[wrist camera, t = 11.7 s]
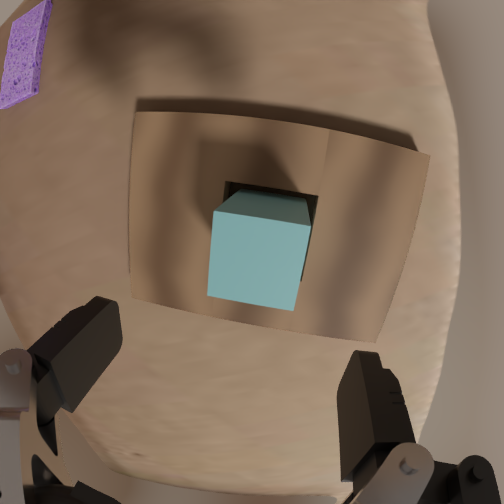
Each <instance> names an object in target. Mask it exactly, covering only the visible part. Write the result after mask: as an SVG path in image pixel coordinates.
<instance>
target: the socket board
mask: <svg viewBox="0 0 504 504" xmlns="http://www.w3.org/2000/svg"><path fill="white" fill-rule="evenodd" d="M429 160H430V155H427V154H424V153H421V152H417V151H414V150H411V149H408V148H404V147H401V146H397V145H394V144H390V143H386V142H383V141H379V140H375V139H371V138H367V137H363V136H358V135H354V134H350V133H345V132H341V131H336V130H331V129H326V128H321V127H315V126H310V125H304V124H298V123H291V122H285V121H278V120H270V119H263V118H254V117H245V116H235V115H223V114H209V113H190V112H135V120H134V130H133V141H132V154H131V170H130V193H129V253H130V277H131V293H132V298H135V299H139V300H143V301H147V302H151V303H155V304H159V305H163V306H167V307H171V308H175V309H180V310H184V311H188V312H193V313H197V314H202V315H206V316H211V317H216V318H221V319H225V320H230V321H235V322H241V323H246V324H251V325H256V326H262V327H267V328H273V329H279V330H285V331H291V332H297V333H304V334H310V335H317V336H324V337H331V338H339V339H346V340H354V341H363V342H372V343H376V340H377V338H378V335H379V333H380V331H381V328H382V326H383V323H384V321H385V318H386V315H387V313H388V310H389V308H390V305H391V302H392V299H393V297H394V294H395V291H396V288H397V285H398V282H399V279H400V276H401V273H402V270H403V267H404V264H405V261H406V257H407V254H408V251H409V247H410V244H411V240H412V237H413V233H414V229H415V225H416V221H417V217H418V213H419V209H420V205H421V201H422V196H423V192H424V187H425V182H426V177H427V171H428V166H429ZM230 182H237V183H244V184H251V185H258V186H264V187H271V188H277V189H283V190H289V191H295V192H301V193H306V194H312V195H316V199H315V204H314V210H313V215H312V220H311V229H310V234H309V240H308V245H307V250H306V255H305V260H304V265H303V269H302V274H301V279H300V284H299V288H298V293H297V297H296V302H295V306H294V311H290V310H283V309H277V308H272V307H266V306H260V305H254V304H249V303H243V302H238V301H233V300H227V299H222V298H217V297H212V296H207V291H208V275H209V261H210V248H211V236H212V224H213V213H214V210H215V209H216V208H218V207H219V206H220V205H221V204H222V203H224V202H225V201H226V200H227V199H229V190H230Z"/></svg>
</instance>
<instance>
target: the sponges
mask: <svg viewBox="0 0 504 504" xmlns="http://www.w3.org/2000/svg"><path fill="white" fill-rule="evenodd" d="M52 5H53V4H52V3H51V0H44V1H42V2H41V3H40V4H38V5H37V6H35V7H34V8H32V9H31V11H29V12H27V13H26V14H24V15H23V16H21V17H20V18H18V19H17V20H15V21H14V22H13V23H12V28H11V32H10V37H9V41H8V49H7V54H6V58H5V64H4V72H3V76H2V84H1V93H0V109H7V108H9V107H11V106H13V105H15V104H17V103H19V102H21V101H23V100H25V99H27V98H29V97H31V96H34V95H35V94H38V92H39V80H40V70H41V62H42V54H43V46H44V42H45V37H46V31H47V26H48V21H49V17H50V13H51V9H52Z"/></svg>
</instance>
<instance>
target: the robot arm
mask: <svg viewBox="0 0 504 504" xmlns="http://www.w3.org/2000/svg"><path fill="white" fill-rule="evenodd" d="M122 339H123V337H122V329H121V322H120V314H119V307H118V304H117V302H116V301H113V300H110V299H106V298H103V297H100V296H96V297H94V298H93V299H92V300H90V301H89V302H88V303H87V304H86V305H85V306H81V307H78V308H76V309H74V310H72V311H70V312H69V313H68V314H66V315H65V316H64V317H63V318H62V319H61V321H58V322H57V323H56V324H55V325H54V328H53V327H52V328H51V329H50V330H48V331H47V332H46V333H45V334H44V335H43V336H42V337H41V338H40V339H39V340H37V341H36V342H35V343H34V344H33V345H32V346H31V347H30V348H29V349H28V350H27V351H26V350H23V349H18V348H16V349H10V350H7V351H5V352H3V353H2V354H1V355H0V504H121V503H119V502H118V501H117V500H115V499H114V498H112V497H110V496H108V495H105V494H103V493H101V492H99V491H97V490H95V489H93V488H91V487H89V486H87V485H85V484H84V483H82V482H80V481H78V482H77V483H76V485H75V487H73V484H72V480H71V478H70V475H69V473H68V471H67V469H66V466H65V463H64V460H63V452H62V446H61V437H60V426H59V417H58V413H57V411H58V410H59V409H60V407H62V408H63V409H65V410H67V411H69V412H71V413H73V412H74V410H75V409H76V407H77V406H78V405H79V403H80V402H81V401H82V399H83V398H84V397H85V395H86V394H87V393H88V391H89V390H90V389H91V387H92V386H93V385H94V383H95V382H96V381H97V379H98V378H99V377H100V375H101V374H102V373H103V372H104V370H105V369H106V368H107V366H108V365H109V364H110V362H111V361H112V360H113V359H114V357H115V356H116V355H117V354H118V352H119V350H120V348H121V345H122ZM337 410H338V425H339V442H340V465H341V482H353V491H352V492H351V493H350V494H349V495H348V496H347V497H346V499H345V500H344V501H343V502H342V503H341V504H501V500H500V495H499V491H498V486H497V482H496V478H495V475H494V471H493V468H492V466H491V464H490V463H489V462H488V461H487V460H486V459H485V458H483V457H481V456H478V455H472V456H468V457H466V458H465V459H464V460H463V461H462V462H461V463H460V464H458V465H455V464H448V463H442V462H438V461H434V460H433V457H432V455H431V454H430V452H429V451H428V450H427V449H426V448H425V447H423V446H421V445H419V444H416V441H415V437H414V433H413V429H412V425H411V422H410V418H409V414H408V411H407V407H406V405H405V400H404V397H403V395H402V390H401V387H400V384H399V381H398V379H397V378H396V377H395V375H394V374H393V373H392V372H391V370H390V369H384V368H383V367H382V364H381V361H380V357H379V354H378V353H377V352H368V351H358V350H355V351H354V352H353V354H352V356H351V358H350V361H349V363H348V365H347V368H346V370H345V372H344V375H343V377H342V379H341V381H340V384H339V387H338V391H337Z"/></svg>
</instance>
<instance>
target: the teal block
mask: <svg viewBox="0 0 504 504" xmlns="http://www.w3.org/2000/svg"><path fill="white" fill-rule="evenodd" d="M310 229H311V223H310V218H309V213H308V207H307V202H306V198H300V197H294V196H288V195H282V194H275V193H269V192H262V191H256V190H249V189H242V188H241V189H240V190H238V191H237V192H236V193H235V194H233V195H232V196H231V197H230V198H229V199H227V200H226V201H225V202H224V203H222V204H221V205H220V206H219V207H218V208H216V209H215V210H214V213H213V224H212V236H211V248H210V261H209V275H208V291H207V296H212V297H217V298H222V299H227V300H233V301H238V302H243V303H249V304H254V305H260V306H266V307H272V308H277V309H283V310H290V311H294V306H295V302H296V297H297V293H298V288H299V284H300V279H301V274H302V269H303V265H304V260H305V255H306V250H307V245H308V240H309V234H310Z"/></svg>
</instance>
